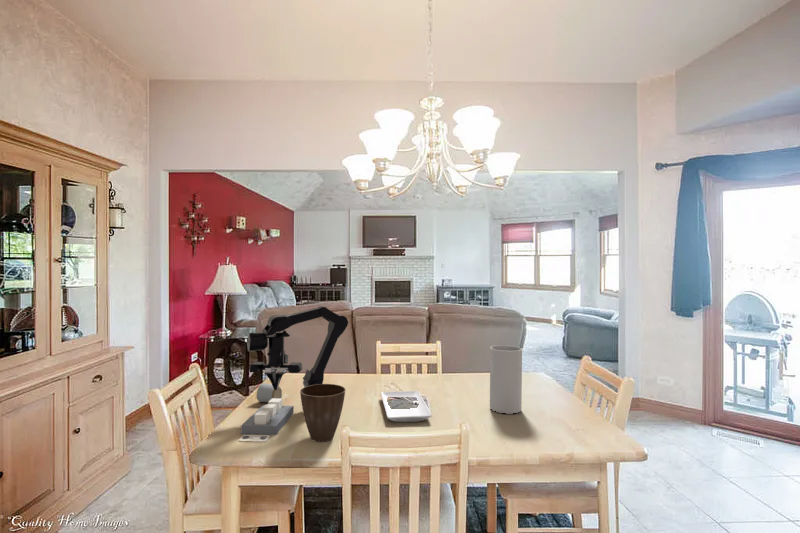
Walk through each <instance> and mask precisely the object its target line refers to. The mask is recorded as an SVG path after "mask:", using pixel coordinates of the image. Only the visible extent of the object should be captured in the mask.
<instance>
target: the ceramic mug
mask: <svg viewBox="0 0 800 533" xmlns="http://www.w3.org/2000/svg"><path fill="white" fill-rule="evenodd" d="M282 392H283V390H282V388H281V387H280V385H279V386H278V389H277V390H274V388H273V386H272V383H268V382H267V383H266V382H263V383H261V384H259V386H258V388H257V390H256V399H257V401H258V402H260V403H267V404H269V401H270V400H271V399H272V398H278V399H283V393H282Z"/></svg>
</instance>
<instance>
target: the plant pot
mask: <svg viewBox="0 0 800 533" xmlns="http://www.w3.org/2000/svg"><path fill="white" fill-rule="evenodd" d="M299 394H300V402H301V408H302V412H303V413H302V414H303V417H304V421H305V424H306V428H307V431H308V434H309V437H310V439H311V440H312V441H313V442H318V443H319V442H320V443H322V442H328V441H331V440H333V438H334V436H335V434H336V431H337V428H338V425H339V423H340V422H339V421H340V419H341V415H342V412H343V411H342V410H343V406H344V401H345V396H346V388H345V386H342V385H339V384H333V383H323V384H316V385H310V386H306V387H304V386H303V387H301V389H300V390H299Z"/></svg>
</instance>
